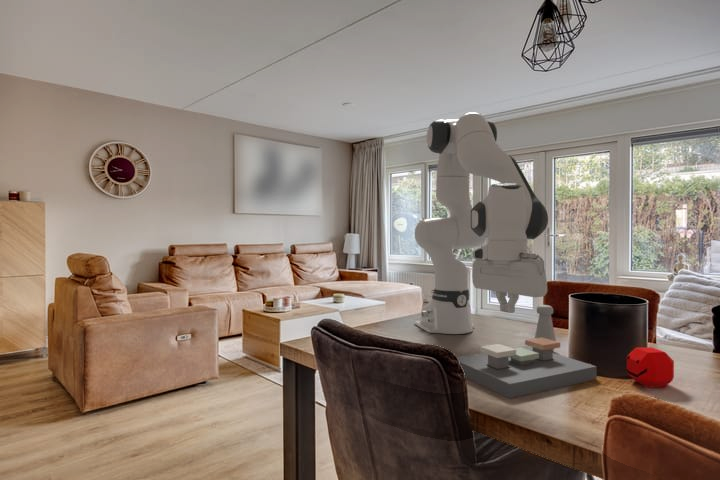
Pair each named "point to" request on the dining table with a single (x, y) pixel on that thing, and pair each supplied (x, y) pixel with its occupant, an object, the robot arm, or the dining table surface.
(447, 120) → the robot arm
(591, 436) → the dining table surface
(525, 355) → the sage button
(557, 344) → the terracotta button
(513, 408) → the dining table surface
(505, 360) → the cream button
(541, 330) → the salt shaker
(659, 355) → the ball
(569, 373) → the panel
